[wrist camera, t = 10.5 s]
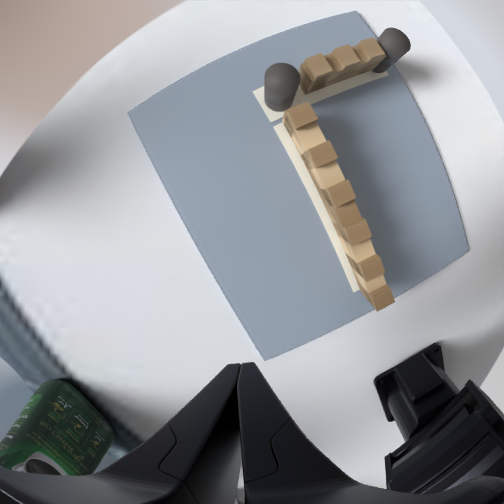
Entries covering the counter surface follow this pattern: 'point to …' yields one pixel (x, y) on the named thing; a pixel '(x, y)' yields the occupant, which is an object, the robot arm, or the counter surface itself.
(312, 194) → the card
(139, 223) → the counter surface
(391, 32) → the fixed fence section
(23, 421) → the coffee jar
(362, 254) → the folding fence panel
